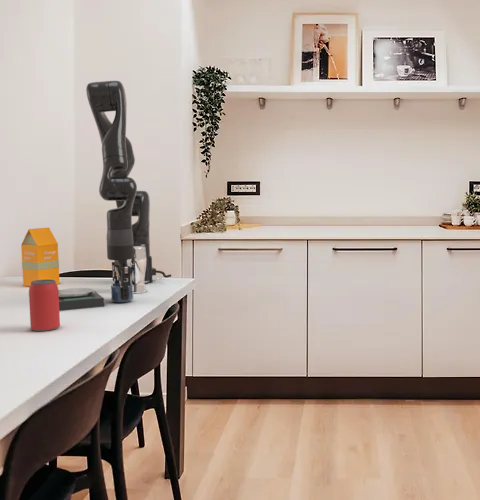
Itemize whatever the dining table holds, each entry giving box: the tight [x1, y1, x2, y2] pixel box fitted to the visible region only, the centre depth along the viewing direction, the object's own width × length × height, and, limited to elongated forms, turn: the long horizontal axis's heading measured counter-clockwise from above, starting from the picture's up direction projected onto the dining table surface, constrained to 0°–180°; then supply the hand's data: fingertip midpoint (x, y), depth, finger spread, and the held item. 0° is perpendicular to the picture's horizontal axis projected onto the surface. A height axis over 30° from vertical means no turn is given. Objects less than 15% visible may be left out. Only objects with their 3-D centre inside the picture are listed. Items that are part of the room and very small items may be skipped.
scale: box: [59, 291, 105, 312], centre depth 183 cm, size 13×15×3 cm
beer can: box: [28, 279, 61, 332], centre depth 152 cm, size 7×7×12 cm
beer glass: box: [127, 246, 147, 294], centre depth 203 cm, size 7×7×15 cm
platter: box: [58, 287, 96, 297], centre depth 183 cm, size 11×11×1 cm
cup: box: [110, 283, 134, 303], centre depth 187 cm, size 6×6×5 cm
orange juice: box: [20, 227, 61, 287], centre depth 215 cm, size 8×9×20 cm
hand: (122, 297), depth 187 cm, fingers closed on cup, 6 cm apart
